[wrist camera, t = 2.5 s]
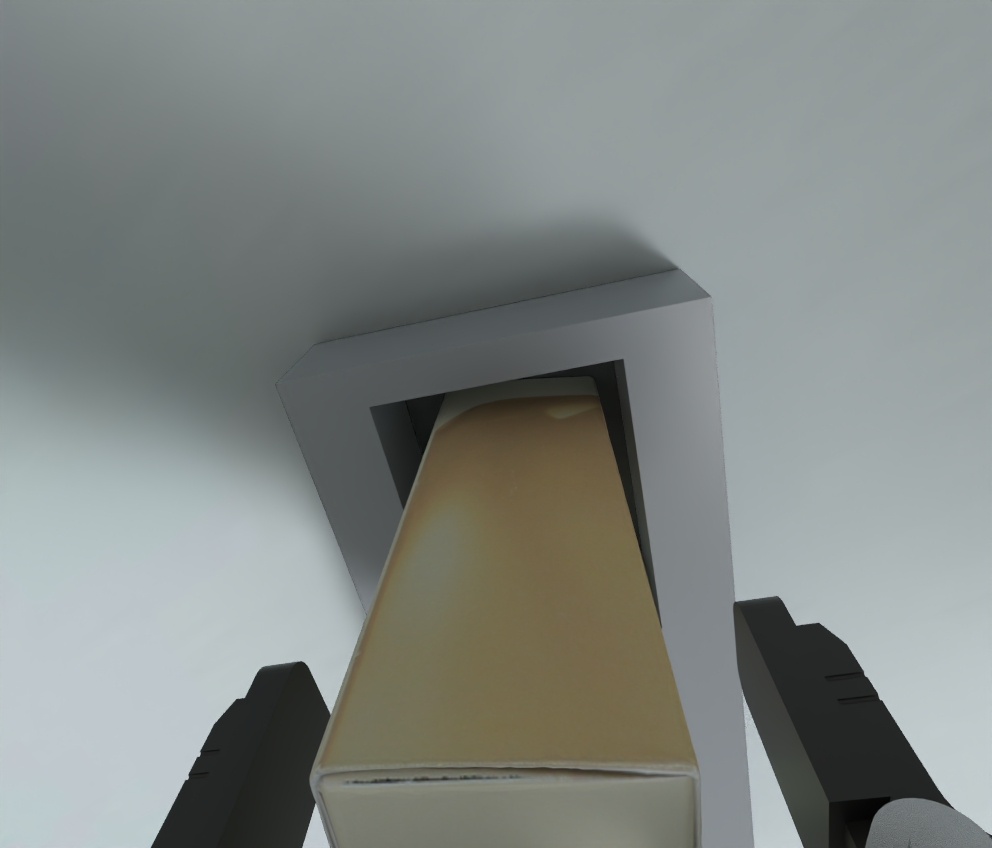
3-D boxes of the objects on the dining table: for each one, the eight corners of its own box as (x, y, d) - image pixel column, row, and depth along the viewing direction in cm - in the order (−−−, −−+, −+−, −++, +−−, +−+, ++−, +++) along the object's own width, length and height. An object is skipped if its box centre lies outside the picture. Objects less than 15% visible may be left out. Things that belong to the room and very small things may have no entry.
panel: (680, 268, 16) (711, 296, 13) (735, 842, 26) (760, 926, 23) (314, 344, 17) (275, 384, 15) (499, 862, 27) (496, 943, 24)
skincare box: (602, 551, 20) (698, 1082, 9) (467, 558, 20) (395, 1076, 9) (596, 361, 17) (722, 780, 6) (440, 373, 17) (292, 789, 6)
